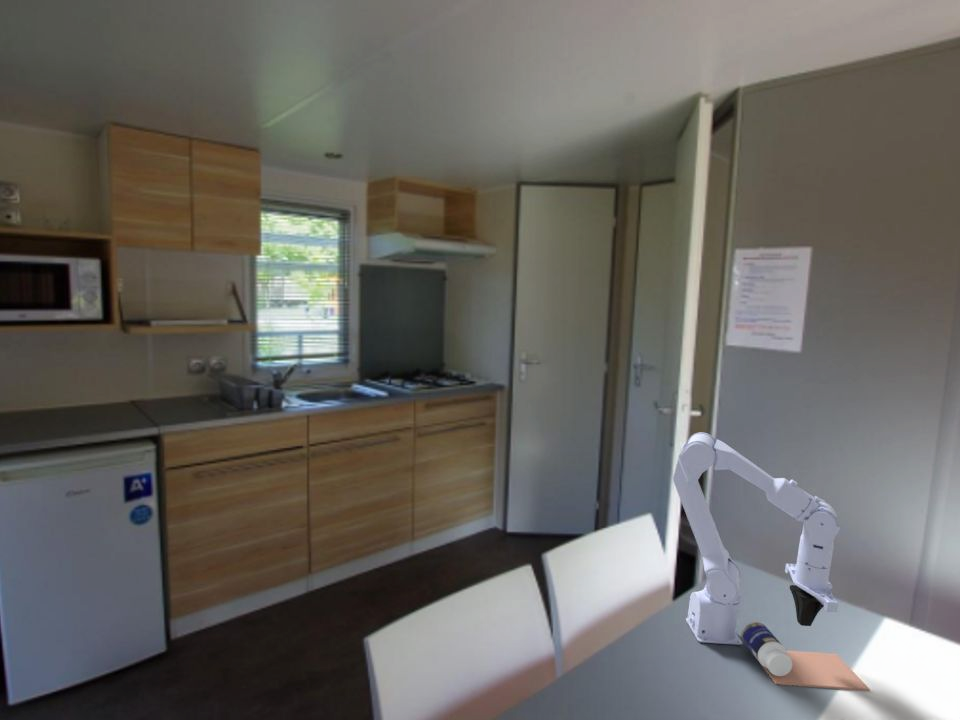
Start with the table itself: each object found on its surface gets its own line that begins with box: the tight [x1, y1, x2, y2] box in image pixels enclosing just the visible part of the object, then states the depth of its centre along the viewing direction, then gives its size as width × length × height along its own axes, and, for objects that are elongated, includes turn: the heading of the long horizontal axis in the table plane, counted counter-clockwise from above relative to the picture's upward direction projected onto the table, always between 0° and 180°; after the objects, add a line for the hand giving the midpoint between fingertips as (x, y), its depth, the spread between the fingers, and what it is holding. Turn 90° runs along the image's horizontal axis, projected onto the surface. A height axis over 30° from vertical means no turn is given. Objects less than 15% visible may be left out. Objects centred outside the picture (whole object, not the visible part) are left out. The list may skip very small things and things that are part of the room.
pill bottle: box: [740, 621, 792, 676], centre depth 108 cm, size 6×6×10 cm
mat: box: [762, 649, 871, 692], centre depth 107 cm, size 18×10×1 cm, turn 89°
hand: (804, 623), depth 109 cm, fingers closed
